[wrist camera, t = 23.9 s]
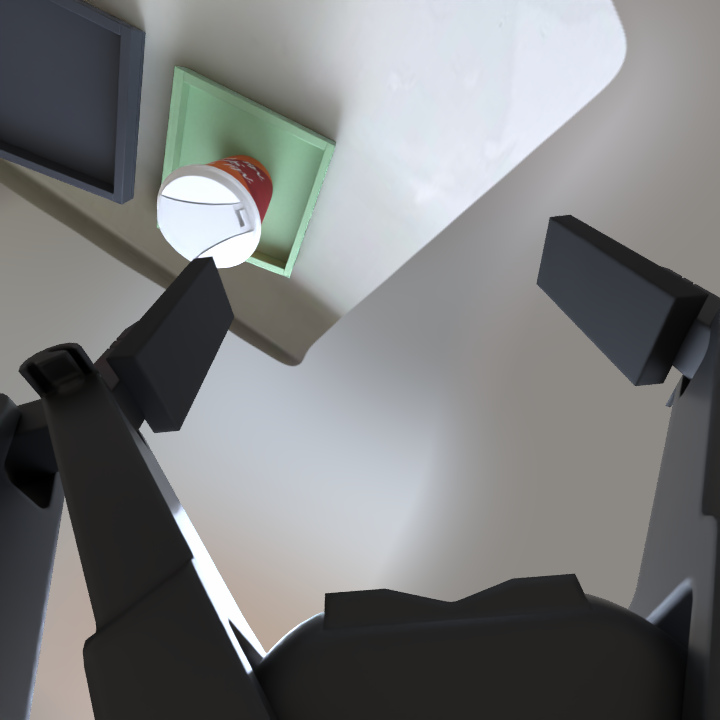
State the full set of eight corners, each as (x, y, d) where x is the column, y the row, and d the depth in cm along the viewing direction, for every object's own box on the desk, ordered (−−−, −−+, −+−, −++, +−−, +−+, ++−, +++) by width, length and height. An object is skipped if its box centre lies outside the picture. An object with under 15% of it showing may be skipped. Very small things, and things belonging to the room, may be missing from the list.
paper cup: (270, 135, 36) (235, 157, 25) (292, 215, 40) (271, 265, 29) (194, 150, 36) (126, 179, 25) (224, 228, 41) (178, 281, 30)
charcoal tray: (145, 32, 31) (131, 29, 29) (133, 198, 39) (121, 204, 37) (-62, -73, 28) (-95, -86, 26) (-29, 134, 35) (-53, 137, 33)
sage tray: (336, 142, 37) (335, 146, 35) (291, 269, 45) (289, 277, 43) (185, 66, 33) (174, 65, 31) (165, 220, 41) (156, 227, 39)
